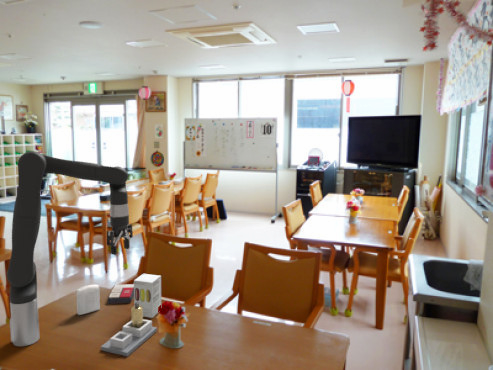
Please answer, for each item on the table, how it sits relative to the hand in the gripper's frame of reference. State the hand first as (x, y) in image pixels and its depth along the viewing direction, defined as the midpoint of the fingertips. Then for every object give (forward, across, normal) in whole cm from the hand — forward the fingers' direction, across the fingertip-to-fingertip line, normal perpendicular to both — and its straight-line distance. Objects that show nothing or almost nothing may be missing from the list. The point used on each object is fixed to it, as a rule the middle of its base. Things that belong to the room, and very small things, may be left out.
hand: (120, 251), depth 165 cm
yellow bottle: (+31, +6, +12) cm, 33 cm away
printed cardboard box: (+33, -22, -17) cm, 43 cm away
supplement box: (+32, -12, +5) cm, 35 cm away
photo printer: (+32, -3, -21) cm, 39 cm away
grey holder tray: (+32, +11, +12) cm, 36 cm away
